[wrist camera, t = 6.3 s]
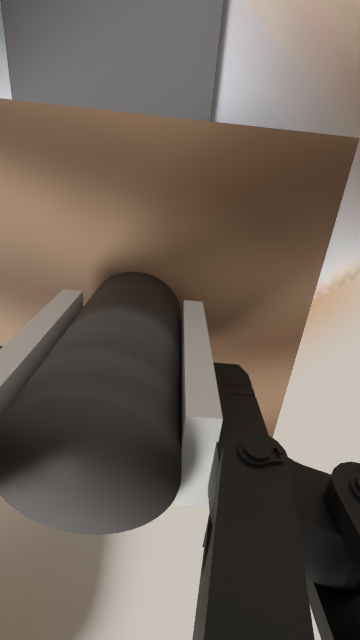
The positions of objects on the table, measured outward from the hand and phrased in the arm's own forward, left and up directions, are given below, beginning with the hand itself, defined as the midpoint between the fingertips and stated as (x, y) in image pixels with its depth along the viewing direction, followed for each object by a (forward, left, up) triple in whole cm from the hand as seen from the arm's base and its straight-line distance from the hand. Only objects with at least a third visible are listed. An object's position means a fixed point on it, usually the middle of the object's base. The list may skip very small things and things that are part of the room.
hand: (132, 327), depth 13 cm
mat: (-14, -5, -19) cm, 24 cm away
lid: (0, 0, -2) cm, 2 cm away
